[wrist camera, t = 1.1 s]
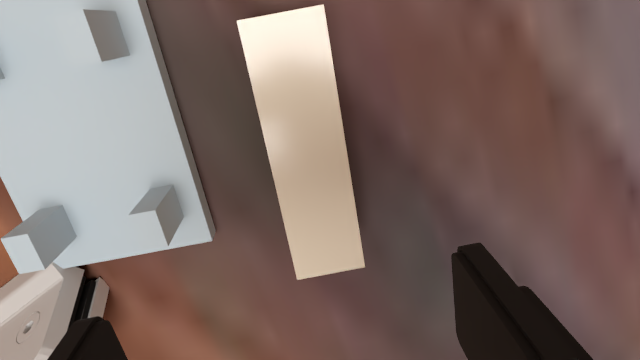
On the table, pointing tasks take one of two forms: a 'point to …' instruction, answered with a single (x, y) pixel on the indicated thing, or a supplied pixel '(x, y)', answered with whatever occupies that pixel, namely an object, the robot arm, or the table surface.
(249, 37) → the clay bar
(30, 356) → the white router
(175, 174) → the rack
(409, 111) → the table surface
